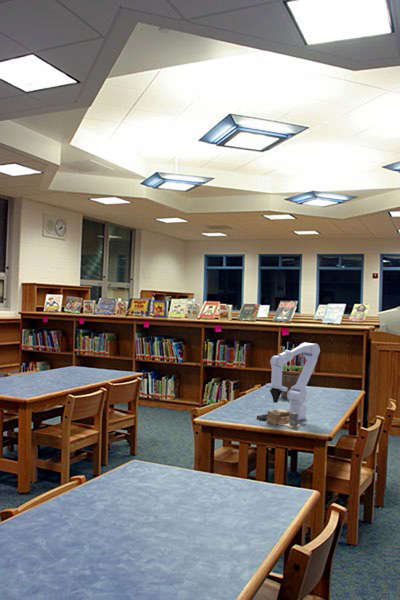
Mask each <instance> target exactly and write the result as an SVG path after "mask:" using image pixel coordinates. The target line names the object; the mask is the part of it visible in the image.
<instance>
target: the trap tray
mask: <svg viewBox="0 0 400 600" xmlns="http://www.w3.org/2000/svg"><path fill="white" fill-rule="evenodd" d="M267 415H268V413H267V414H260V415H256V420H259V421H263V422H265V421H267Z"/></svg>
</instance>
